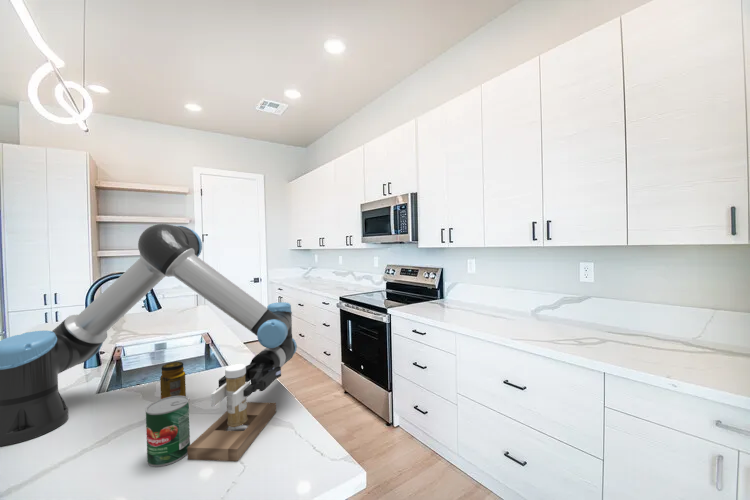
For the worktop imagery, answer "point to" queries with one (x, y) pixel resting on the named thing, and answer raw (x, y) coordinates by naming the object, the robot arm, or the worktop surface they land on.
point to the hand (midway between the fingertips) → (223, 400)
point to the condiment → (172, 380)
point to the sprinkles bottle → (233, 383)
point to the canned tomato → (167, 430)
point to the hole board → (231, 435)
